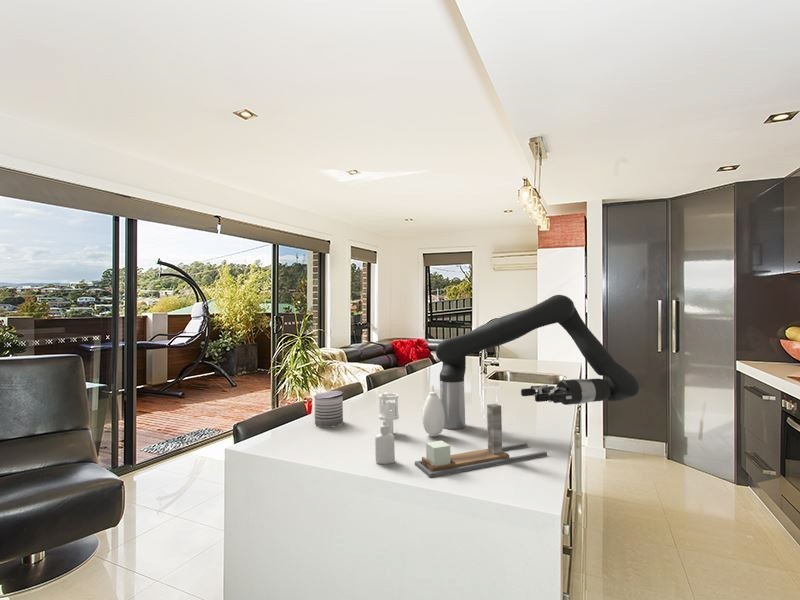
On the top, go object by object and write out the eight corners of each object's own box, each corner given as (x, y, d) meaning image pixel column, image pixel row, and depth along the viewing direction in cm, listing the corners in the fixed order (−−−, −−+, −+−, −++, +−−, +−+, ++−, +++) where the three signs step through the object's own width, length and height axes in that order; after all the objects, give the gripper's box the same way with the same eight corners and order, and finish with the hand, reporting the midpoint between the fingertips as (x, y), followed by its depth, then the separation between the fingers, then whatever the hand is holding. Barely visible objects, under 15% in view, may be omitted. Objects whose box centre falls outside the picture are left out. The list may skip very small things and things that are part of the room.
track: (414, 465, 124) (414, 461, 124) (525, 445, 138) (525, 442, 138) (429, 477, 114) (429, 473, 114) (547, 455, 129) (546, 452, 129)
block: (426, 460, 122) (426, 442, 122) (442, 457, 124) (441, 440, 124) (434, 466, 118) (433, 448, 118) (450, 463, 120) (450, 445, 120)
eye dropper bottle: (379, 458, 130) (378, 418, 130) (396, 460, 128) (395, 420, 128) (373, 463, 126) (372, 422, 126) (391, 465, 124) (390, 423, 124)
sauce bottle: (444, 440, 146) (442, 387, 146) (421, 439, 147) (420, 386, 148) (446, 433, 154) (445, 382, 154) (424, 432, 155) (423, 382, 155)
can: (340, 427, 164) (340, 395, 164) (311, 427, 164) (310, 396, 164) (345, 419, 175) (344, 390, 176) (317, 419, 176) (317, 390, 176)
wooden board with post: (421, 465, 123) (420, 410, 123) (495, 452, 132) (494, 401, 132) (432, 473, 116) (431, 416, 117) (509, 459, 126) (508, 406, 126)
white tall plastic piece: (375, 434, 153) (375, 392, 154) (385, 429, 160) (384, 389, 160) (393, 437, 150) (392, 394, 150) (402, 431, 156) (401, 390, 157)
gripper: (562, 376, 141) (516, 379, 137) (590, 383, 127) (540, 387, 124) (563, 398, 141) (517, 402, 137) (591, 408, 127) (541, 413, 123)
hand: (528, 395), depth 130 cm, fingers open, 8 cm apart
